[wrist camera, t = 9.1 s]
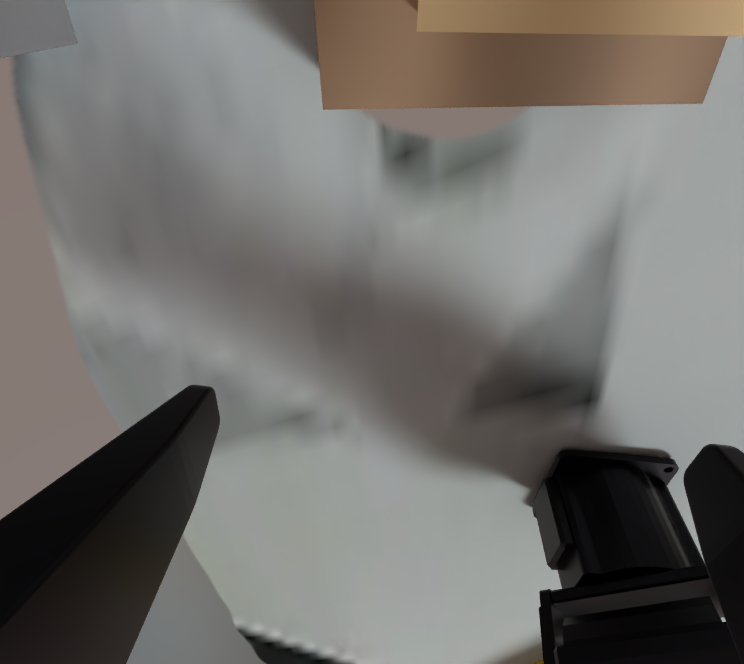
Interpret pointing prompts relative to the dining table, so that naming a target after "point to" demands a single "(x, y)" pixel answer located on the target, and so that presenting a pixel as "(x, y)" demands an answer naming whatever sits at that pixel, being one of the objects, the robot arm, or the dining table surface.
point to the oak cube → (584, 17)
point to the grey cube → (34, 26)
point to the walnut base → (497, 64)
